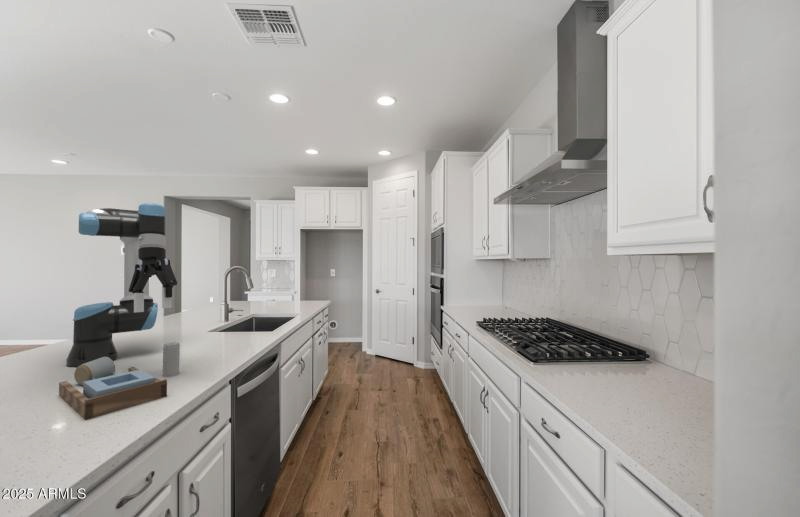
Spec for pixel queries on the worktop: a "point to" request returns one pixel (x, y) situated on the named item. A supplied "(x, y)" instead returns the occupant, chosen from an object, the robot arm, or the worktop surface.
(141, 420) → the worktop surface
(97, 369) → the ceramic mug
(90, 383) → the blue recessed block
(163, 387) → the bay
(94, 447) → the worktop surface
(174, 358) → the beverage can
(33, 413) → the worktop surface
